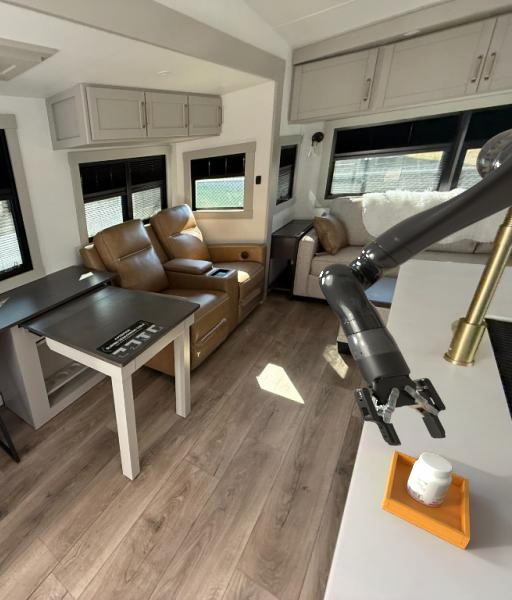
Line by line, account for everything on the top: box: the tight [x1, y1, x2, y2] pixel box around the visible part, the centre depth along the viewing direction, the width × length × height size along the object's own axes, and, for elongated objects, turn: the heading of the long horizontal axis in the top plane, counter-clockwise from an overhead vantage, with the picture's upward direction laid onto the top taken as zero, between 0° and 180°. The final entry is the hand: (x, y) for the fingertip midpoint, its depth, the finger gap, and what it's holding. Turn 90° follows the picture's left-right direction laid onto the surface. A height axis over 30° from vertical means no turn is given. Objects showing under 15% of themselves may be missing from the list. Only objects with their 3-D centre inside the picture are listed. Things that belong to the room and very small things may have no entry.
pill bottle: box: [406, 451, 454, 507], centre depth 56 cm, size 5×5×8 cm
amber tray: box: [381, 450, 471, 551], centre depth 57 cm, size 10×13×3 cm
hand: (417, 441), depth 57 cm, fingers open, 8 cm apart
